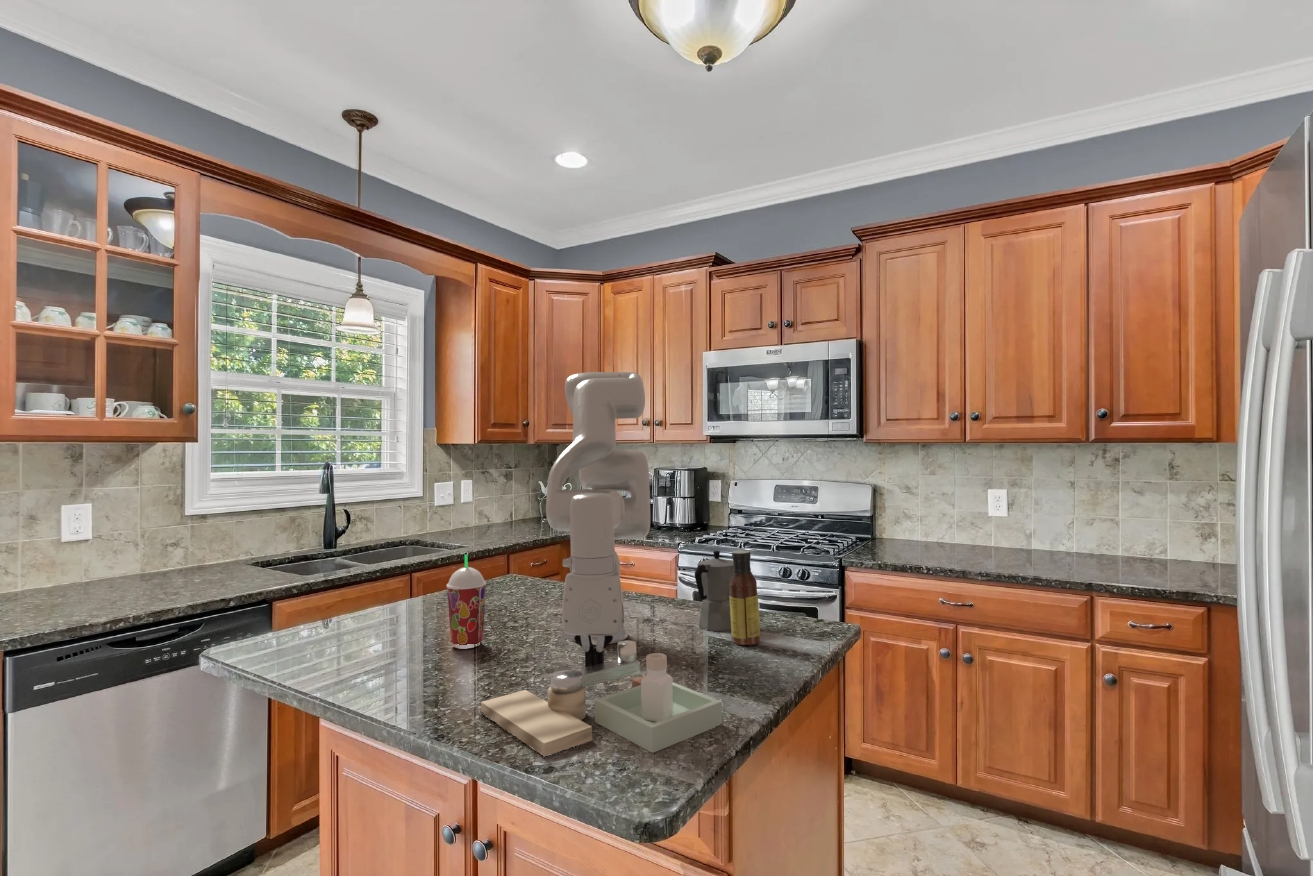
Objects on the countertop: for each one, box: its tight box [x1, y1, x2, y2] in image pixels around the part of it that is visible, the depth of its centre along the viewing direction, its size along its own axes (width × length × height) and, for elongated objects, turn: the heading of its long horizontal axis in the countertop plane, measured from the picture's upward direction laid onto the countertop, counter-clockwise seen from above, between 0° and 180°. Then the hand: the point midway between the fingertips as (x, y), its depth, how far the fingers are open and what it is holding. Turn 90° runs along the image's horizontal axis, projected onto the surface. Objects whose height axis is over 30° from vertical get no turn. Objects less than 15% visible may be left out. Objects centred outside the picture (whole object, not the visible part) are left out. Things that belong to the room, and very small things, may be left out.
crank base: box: [480, 676, 644, 756], centre depth 106 cm, size 20×27×4 cm
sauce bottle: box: [729, 549, 761, 646], centre depth 142 cm, size 7×6×20 cm
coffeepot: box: [694, 550, 733, 632], centre depth 154 cm, size 15×9×18 cm, turn 142°
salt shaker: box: [641, 652, 673, 722], centre depth 101 cm, size 4×4×10 cm
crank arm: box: [550, 640, 641, 694], centre depth 107 cm, size 16×5×5 cm, turn 125°
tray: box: [594, 681, 723, 754], centre depth 101 cm, size 14×14×4 cm
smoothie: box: [446, 554, 487, 645], centre depth 143 cm, size 8×8×20 cm
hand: (594, 672), depth 111 cm, fingers closed
